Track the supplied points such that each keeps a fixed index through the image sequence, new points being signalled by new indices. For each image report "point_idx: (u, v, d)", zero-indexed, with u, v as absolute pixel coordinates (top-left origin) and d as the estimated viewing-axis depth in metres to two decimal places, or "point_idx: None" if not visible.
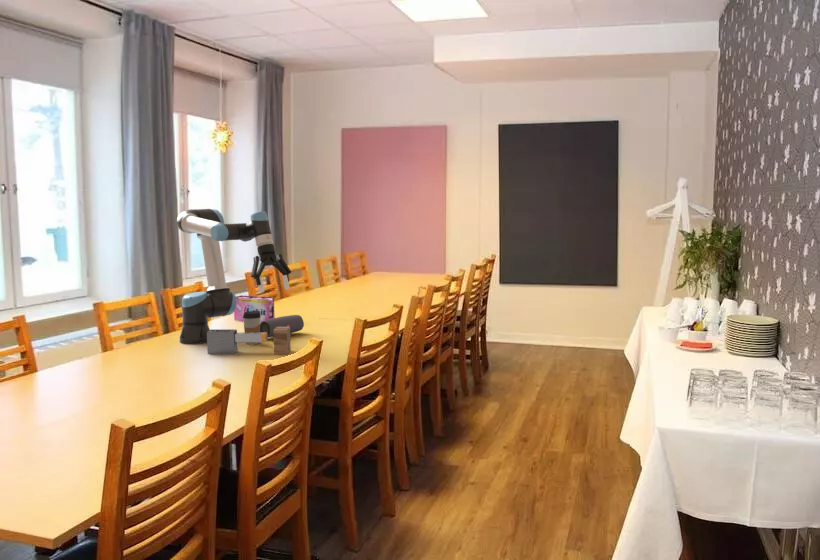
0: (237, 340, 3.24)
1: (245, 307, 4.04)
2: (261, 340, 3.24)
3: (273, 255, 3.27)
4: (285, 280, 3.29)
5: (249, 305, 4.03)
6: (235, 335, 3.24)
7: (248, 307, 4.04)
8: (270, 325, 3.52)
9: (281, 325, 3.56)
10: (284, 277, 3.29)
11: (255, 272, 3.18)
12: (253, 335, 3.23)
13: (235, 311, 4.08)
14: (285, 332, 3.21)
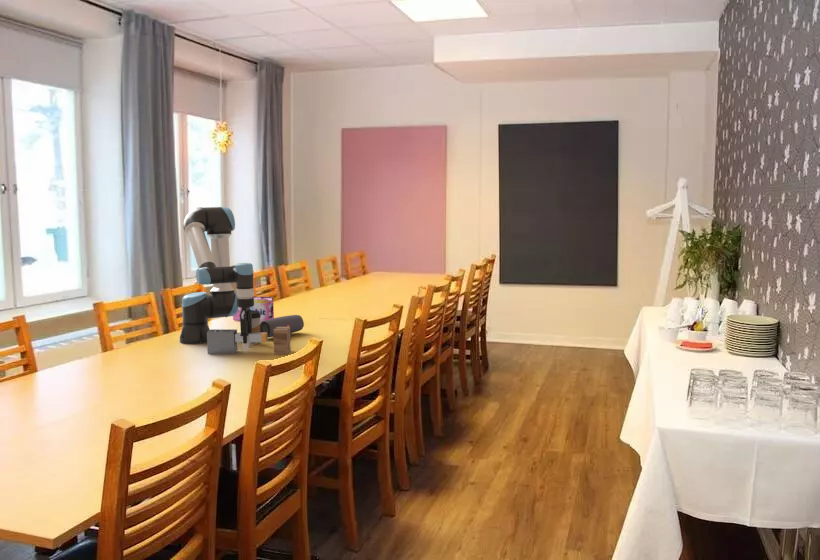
0: (237, 340, 3.24)
1: None
2: (261, 340, 3.24)
3: (249, 307, 3.27)
4: None
5: None
6: (235, 335, 3.24)
7: None
8: (270, 325, 3.52)
9: (281, 325, 3.56)
10: None
11: (246, 331, 3.20)
12: (253, 335, 3.23)
13: None
14: (285, 332, 3.21)
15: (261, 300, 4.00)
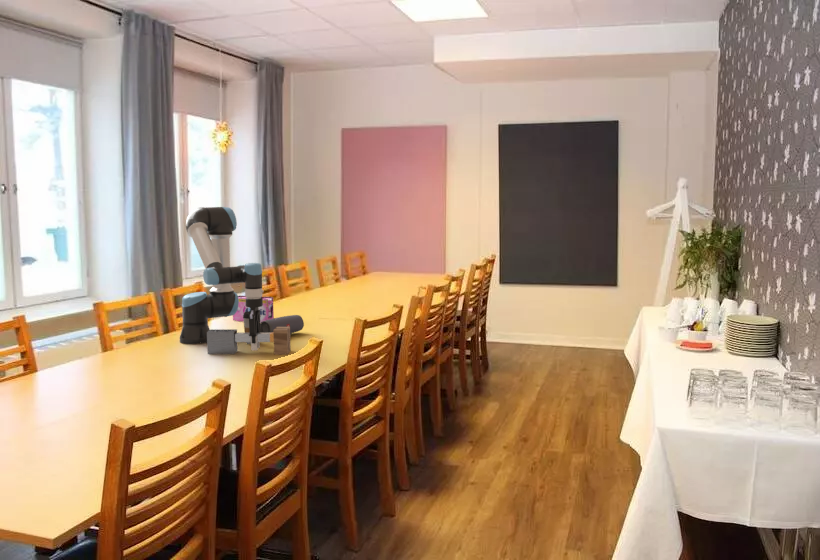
0: (246, 340, 3.24)
1: (244, 307, 4.04)
2: (270, 340, 3.24)
3: None
4: None
5: None
6: (244, 335, 3.24)
7: (247, 307, 4.03)
8: (270, 325, 3.52)
9: (281, 325, 3.56)
10: None
11: (255, 331, 3.20)
12: (262, 335, 3.23)
13: None
14: (285, 332, 3.21)
15: None
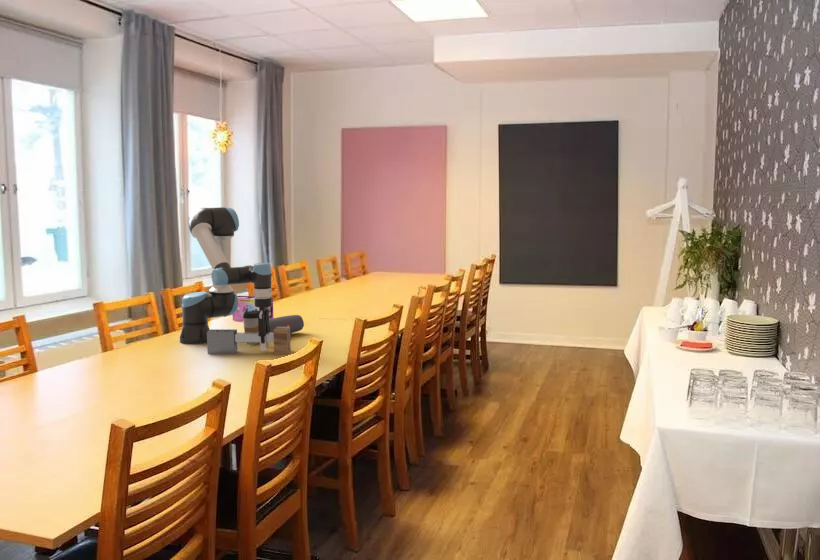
0: (255, 340, 3.24)
1: (244, 307, 4.04)
2: None
3: None
4: None
5: (248, 305, 4.03)
6: (253, 335, 3.23)
7: (247, 307, 4.03)
8: (270, 325, 3.52)
9: (281, 325, 3.56)
10: None
11: (264, 331, 3.20)
12: (271, 335, 3.23)
13: None
14: (285, 332, 3.21)
15: None
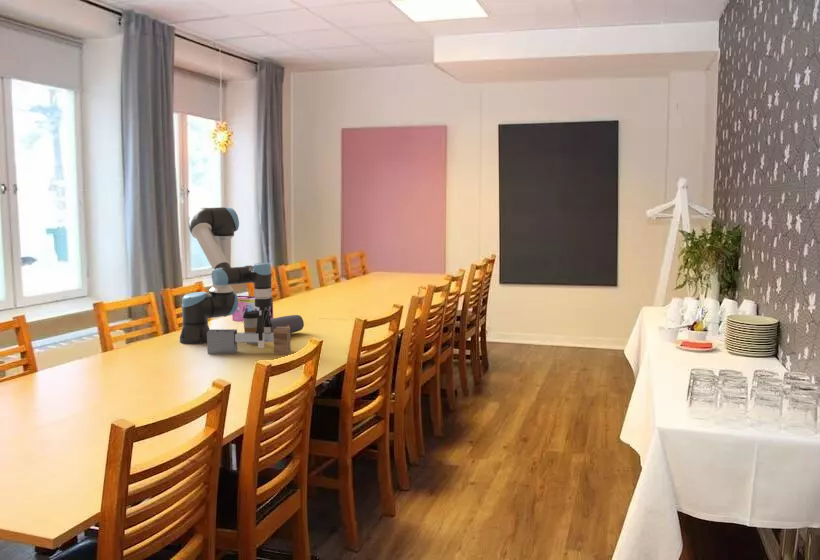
0: (255, 340, 3.24)
1: (244, 307, 4.04)
2: None
3: (267, 308, 3.26)
4: (268, 332, 3.32)
5: (248, 305, 4.03)
6: (253, 335, 3.23)
7: (247, 307, 4.03)
8: None
9: (281, 325, 3.56)
10: (267, 329, 3.31)
11: (262, 328, 3.16)
12: (271, 335, 3.23)
13: None
14: (285, 332, 3.21)
15: None
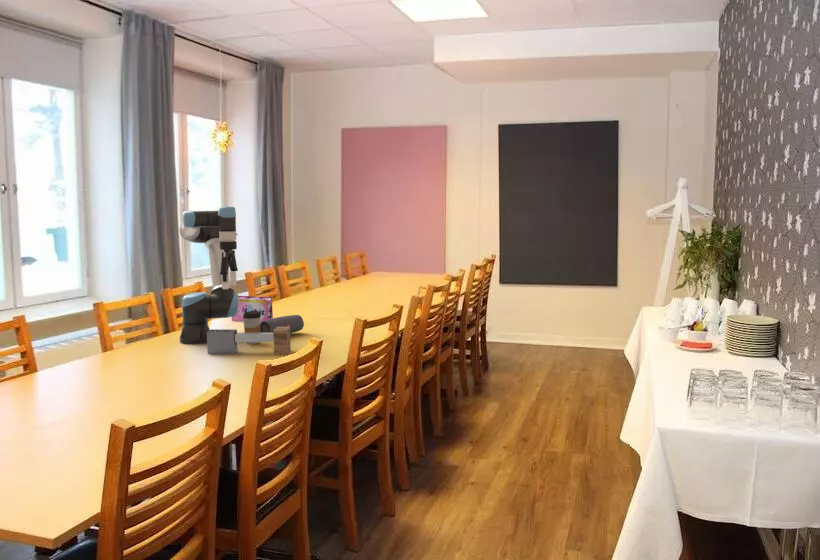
0: (255, 340, 3.24)
1: (243, 307, 4.04)
2: None
3: (232, 251, 3.31)
4: (233, 276, 3.37)
5: (247, 305, 4.03)
6: (253, 335, 3.23)
7: (246, 307, 4.03)
8: (270, 325, 3.52)
9: (281, 325, 3.56)
10: (233, 273, 3.37)
11: (226, 269, 3.21)
12: (271, 335, 3.23)
13: None
14: (285, 332, 3.21)
15: (260, 300, 4.00)
